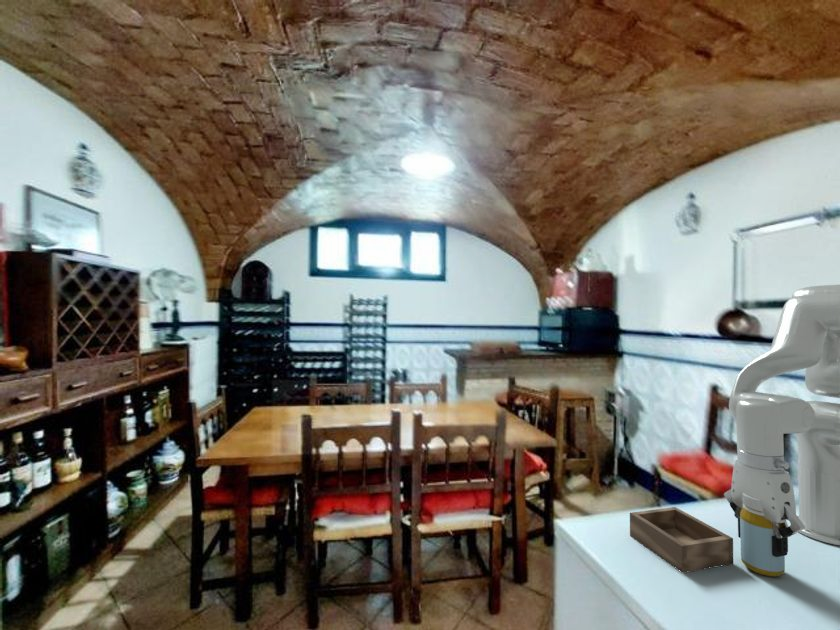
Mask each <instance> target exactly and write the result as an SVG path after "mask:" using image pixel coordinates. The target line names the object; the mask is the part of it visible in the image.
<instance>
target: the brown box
mask: <svg viewBox="0 0 840 630" xmlns="http://www.w3.org/2000/svg"><path fill="white" fill-rule="evenodd" d="M629 536H630V537H631V538H632V539H634V540H635V541H637V542H638V543H639V544H641V545H642V544H643V546H644V547H645V546H646V547H645V548H647V549H648V548H649V549H650V550H649V549H648V550H649V551H651V552H652V551H653V552H654V553H653V552H652V553H653V554H655V553H656V554H657V555H656V554H655V555H656V556H658V557H659V556H660V557H661V558H660V557H659V558H660V559H662V560H663V559H664V561H665V562H666V563H667V564H668V565H670V564H671V565H670V566H672V567H673V566H674V567H676V568H677V569H678V570H677V569H676V568H675V569H676V570H677V571H679V570H680V571H681V572H685V573H688V572H687V571H691V572H695V571H694V570H697V571H700V570H699V569H703V570H705V569H704V568H708V569H710V568H709V567H714V566H720V567H722V566H721V565H726V566H729V565H728V564H732V565H734V537H732V536H730V535H728V534H726V533H724V532H722V531H720V530H719V529H717V528H714V527H713V526H711V525H710V524H707V523H706V522H704V521H702V520H700V519H698V518H696V517H695V516H692V515H691V514H689V513H687V512H685V511H683V510H682V509H680V508H678V507H676V506H673V507H665V508H657V509H648V510H640V511H633V512H629ZM674 567H673V568H674ZM714 568H715V567H714ZM680 571H679V572H680ZM681 572H680V573H681Z"/></svg>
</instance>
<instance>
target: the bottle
mask: <svg viewBox="0 0 840 630" xmlns="http://www.w3.org/2000/svg"><path fill="white" fill-rule="evenodd" d="M742 502H743V508H742V510H741V512H740V538H739V539H740V557H741V558H740V560H741V562H742V563H743V564H744V565H745V567H746V568H747V569H749V570H750V571H753V572H755V573H757V574H760V575H762V576H767V577H780V576H781V575H783V574H784V573H785V570H786V569H785V568H786V563H785V561H786V559H785V556H786V555H785V556H780V557H775V556H773V555H772V536H775V535H774V532H773V529H772V524H771V522H770V521H769V520H767V519H765V518H764V513H762V512H763V507H762V505H761V500H758V499H755V498H752V497H750V496H748V495H746V494H744V493H743V496H742ZM778 525H779V527H780V530H782V524H781V523H779V524H778Z"/></svg>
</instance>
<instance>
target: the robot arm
mask: <svg viewBox="0 0 840 630" xmlns="http://www.w3.org/2000/svg"><path fill="white" fill-rule="evenodd" d="M773 336H774V337H773V339H772V342H771V346H770V348H769V350H767V351H766V352H764V353H763V354H761V355H759V356H758V357H756V358H755V359H753V360H752V361H750V362H749V363H748V364H747V365H745V367H744V368H743V369H742V370H740V372H739V373H738V374H737V376H736V379H735V381H734V383H733V386H732V390H731V393H730V396H729V401H728V411H729V413H730V415H731V417H732V419H733V420H735V421H736V452H737V459H735V461H734V465H733V469H732V477H731V488H730V489H729V490H727V491H725V492H724V493H723V496H724V497H725V499H726V500H727V502H728V504H729V506H730V507H731V510H732V511H733V512H734V514H733V515H734V517H735V518H736V519H737V536H738V538H739V539H741V538H740V512H741V510H742V508H743V502H742V496H743V493H744V494H746V495H748V496H750V497H752V498H755V499H758V500H761V505H762V507H763V512H762V513H764V518H765V519H767V520H769V521H770V522H771V524H772V529H773V532H774V535H775V536H772V555H773V556H775V557H780V556H787V555H788V552H789V537H792V536H793V535H796V534H798V533H800V534H802V535H804V536H806V537H808V538H811V539H813V540H816V541H820V542H823V543H826V544H830V545H835V546H840V403H838V402H837V403H836V402H828V401H821V400H808V401H806V400H804V399H802V398H798V397H793V396H787V395H779V394H776V393H775V394H773V393H766V392H758V391H757V390H758V388H759V387H760V386H761V385H762V384H763V383H764V382H766V381H768V380H769V379H772V378H774V377H777V376H781V375H784V374H788V373H792V372H796V371H801V370H804V369H805V375H804V376H805V378H804V379H805V387H806V388H807V390H808V392H810V393H812V394H814V395H817V396H822V397H828V398H836V399H840V284H829V285H828V284H827V285H824V284H823V285H813V286H806V287H803V288H799V289H797V290H795V291H794V292H793V293H792V295H791V298H790V299H788V300H787V301H785V303H784V305H783V307H782V310H781V314H780V316H779V321H778V324H777V327H776V329H775V332H774V335H773ZM785 434H792V435H794V434H795V437H796V441H797V443H796V444H797V456H798V457H797V461H798V465H797V466H798V469H797V470H798V477H797V478H798V516H797V507H796V506H797V505H796V499H795V497H796V496H795V491H794V486H793V485H794V484H793V482H792V479H791V475H790V473H789V471H787V470H789V468H790V463H788V462H787V461H785V455H784V453H785V451H784V450H785V447H784V444H785V443H784V435H785ZM787 521H789V523H790V525H788V522H787ZM779 523H781V524H782V530H780V527H779V525H778V524H779Z"/></svg>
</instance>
